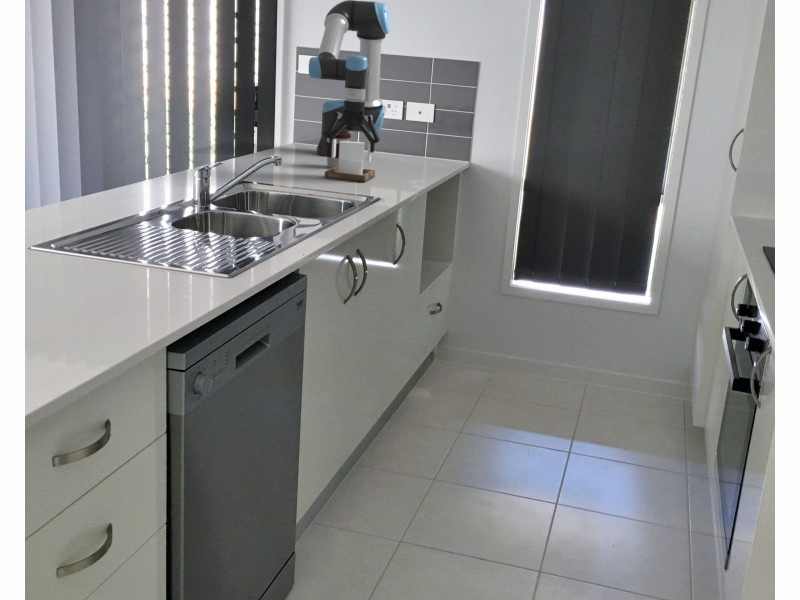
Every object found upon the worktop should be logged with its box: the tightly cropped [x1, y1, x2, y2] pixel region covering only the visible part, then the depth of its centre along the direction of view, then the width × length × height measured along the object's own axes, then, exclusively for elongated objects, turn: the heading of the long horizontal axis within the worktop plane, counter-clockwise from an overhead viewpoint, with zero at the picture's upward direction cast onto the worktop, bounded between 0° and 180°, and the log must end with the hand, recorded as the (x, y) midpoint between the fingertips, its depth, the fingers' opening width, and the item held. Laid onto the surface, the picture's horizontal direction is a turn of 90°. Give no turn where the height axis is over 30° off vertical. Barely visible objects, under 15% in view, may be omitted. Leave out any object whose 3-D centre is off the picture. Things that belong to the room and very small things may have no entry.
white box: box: [338, 141, 365, 175], centre depth 312 cm, size 9×9×12 cm
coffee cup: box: [326, 128, 352, 169], centre depth 333 cm, size 10×10×15 cm
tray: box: [324, 166, 376, 184], centre depth 314 cm, size 15×15×2 cm
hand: (351, 159), depth 313 cm, fingers open, 13 cm apart
